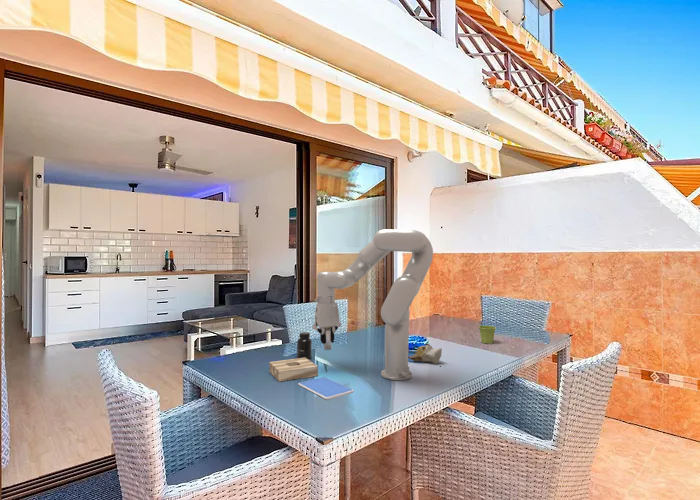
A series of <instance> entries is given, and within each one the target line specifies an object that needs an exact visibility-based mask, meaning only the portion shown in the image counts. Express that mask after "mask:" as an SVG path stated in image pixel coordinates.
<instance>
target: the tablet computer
mask: <svg viewBox="0 0 700 500" xmlns="http://www.w3.org/2000/svg"><path fill="white" fill-rule="evenodd" d="M297 386H298V387H299V386H300V387H302V388H304V389H305V390H308V391H309V392H311V393H312V394H313V393H314V394H315V395H317V396H319V397H321V398H322V399H324V400H332V399H336V398H339V397H343V396H345V395H346V396H347V395H350V394H353V393H354V389H352V388H350V387H348V386H345V385H343V384H341V383H339V382H336V381H335V380H332V379H330V378H327V377H325V376H322V377H319V378H315V379H314V378H313V379H309V380H305V381H300V382H298V384H297Z"/></svg>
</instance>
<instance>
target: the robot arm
mask: <svg viewBox="0 0 700 500" xmlns="http://www.w3.org/2000/svg"><path fill="white" fill-rule="evenodd" d="M391 252H405V253H411V257H410V259H409V260H408V262H407V264H406V267H405V269H404V271H403V272H402V274H401V276H399V277H397V279H395V281H394V282H393V283H392V285H391V288H390V289H389V292H388V293H387V296H386V298H385V300H384V302H383V304H382V306H381V308H380V318H381V319H382V321H383V322H384V323H385V328H384V329H385V330H384V334H385V335H384V369H382V370H381V372H380V376H381V377H382V378H383V379H387V380H390V381H391V380H392V381H405V380H406V381H407V380H409V379H411V378H412V377H413V372H412V371H410V366H409V358H408V357H409V337H410V336H409V334H410V333H409V332H410V330H409V326H410V313H411V311H410V310H411V309H410V308H411V305H412V303H413V301H414V299H415V297H416V296H417V295H418V294H419V292H420V289H421V287H422V285H423V282H424V280H425V278H426V276H427V273H428V272H429V269H430V267H431V265H432V261H433V258H434V249H433V245H432V243H431V241H430V239H429V238H428V237H427V235H425V234H424V233H423V232H422V231H419V230H414V229H389V228H388V229H387V228H383V229H380V230H378V231H377V232H375V233H374V236H373V239H372V240H371V241H370V242H369V243H368V244H366V245H365V246H364V247H363V248H362V249H360V251H359V252H358V255H357V258H356V259H355V261H353V262H352V263H351V264H350V265H348V266H347V268H346V269H344V270H340V271H339V270H338V271H334V272H333V271H320V272H317V274H316V284H317V285H316V290H317V291H316V292H317V295H316V296H317V297H316V298H314V302H317V303H316V305H315V310H314V323H313V326H312V329H313V330H314V331H317V332H318V334H320V335H319V336H320V343H321V344H323V345H324V344H325V343H326V336H325V334H324V330H325V327H331V344H332V343H333V344H334V342H335V334H336V332H337V330H338V329H339V328H340V327H342V323H341V321H340V312H339V311H340V310H339V307H338V302H336V291H335V290H343V289H346V288H349V287H351V286H353V285H355V284H356V283H357V282H358V281H359V280H361V279H362V278H363V277H364V276H365V275H366V274H367V273H368V272H369V271H370V270H371V269H372V268H373V267H375V266H376V264H378V263H379V262H380V261H381V260H382V259H384V258H385V257H386V256H387V255H388V254H390V253H391Z"/></svg>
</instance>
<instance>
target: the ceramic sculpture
mask: <svg viewBox="0 0 700 500" xmlns="http://www.w3.org/2000/svg"><path fill="white" fill-rule="evenodd" d="M442 350H443V349H442V348H441V347H440V348H433V347H432V345H431V344H429V343H425V344H424V345H421V346H419V347H417V349H416V351H415V352H414V354H412V355H411V356H408V360H411V361H414V362H419V361H420V362H423V363H429V362H432V363H433V364H434V365H436V364H438V363H439V362H440V359H441V358H442V353H443V352H442Z"/></svg>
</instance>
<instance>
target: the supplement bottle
mask: <svg viewBox="0 0 700 500" xmlns="http://www.w3.org/2000/svg"><path fill="white" fill-rule="evenodd" d="M298 336H299V337H298V339H297V341H296V359H297V358H307V359H308V360H311V359H312V348H313V347H312V346H313V345H312V344H313V343H312V339H311V338H310V332H306V331H302V332H299V335H298Z"/></svg>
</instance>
